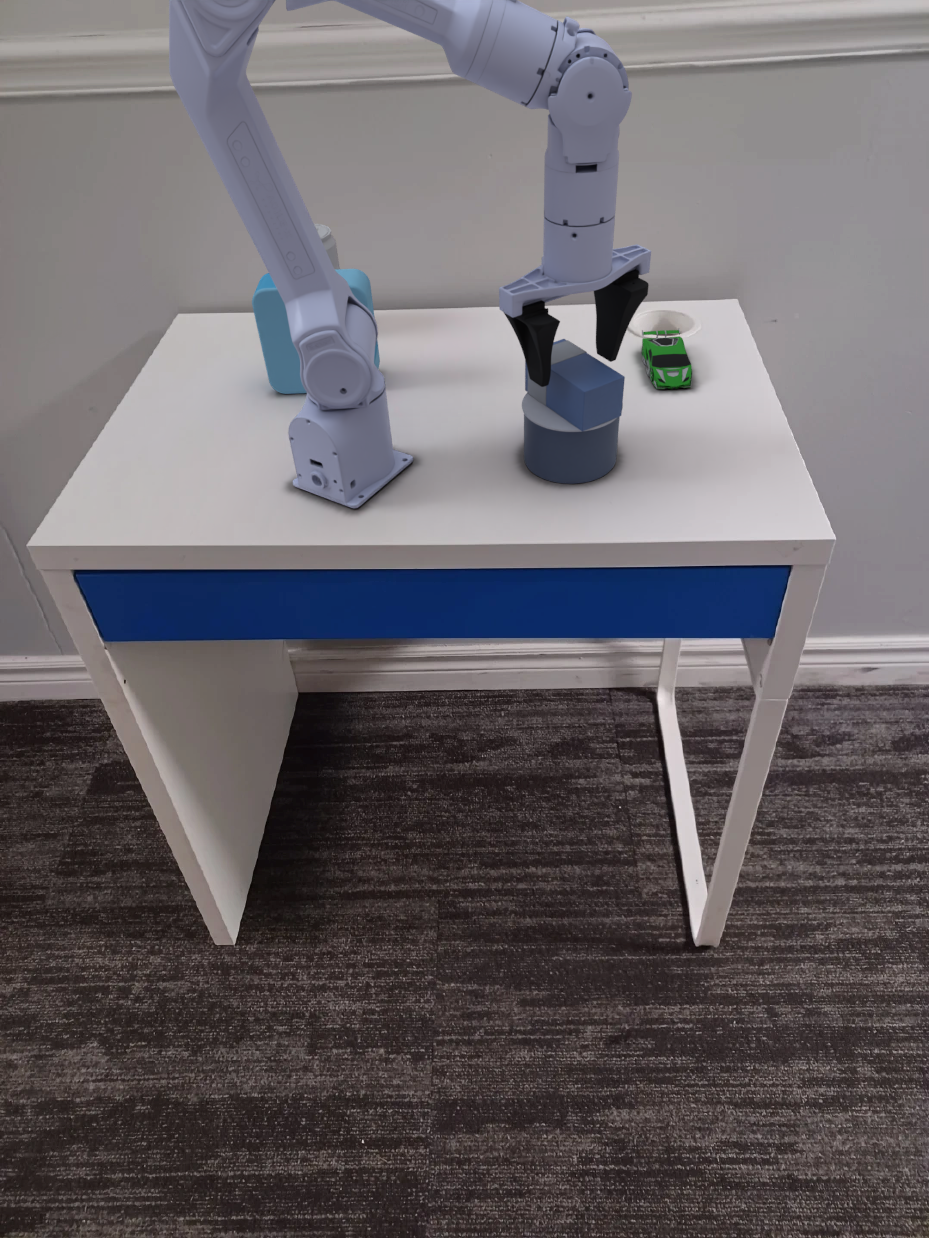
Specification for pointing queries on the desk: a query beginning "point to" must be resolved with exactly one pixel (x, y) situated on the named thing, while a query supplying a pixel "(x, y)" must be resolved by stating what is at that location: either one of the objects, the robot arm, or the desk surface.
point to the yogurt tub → (566, 445)
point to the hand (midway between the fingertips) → (573, 369)
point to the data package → (276, 329)
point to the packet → (579, 387)
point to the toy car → (666, 360)
